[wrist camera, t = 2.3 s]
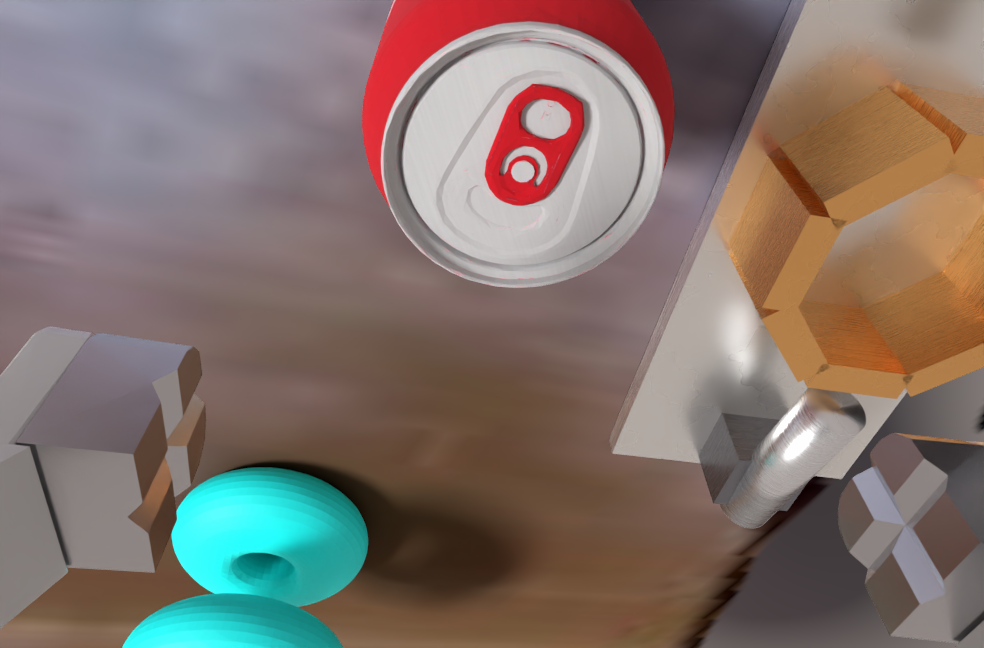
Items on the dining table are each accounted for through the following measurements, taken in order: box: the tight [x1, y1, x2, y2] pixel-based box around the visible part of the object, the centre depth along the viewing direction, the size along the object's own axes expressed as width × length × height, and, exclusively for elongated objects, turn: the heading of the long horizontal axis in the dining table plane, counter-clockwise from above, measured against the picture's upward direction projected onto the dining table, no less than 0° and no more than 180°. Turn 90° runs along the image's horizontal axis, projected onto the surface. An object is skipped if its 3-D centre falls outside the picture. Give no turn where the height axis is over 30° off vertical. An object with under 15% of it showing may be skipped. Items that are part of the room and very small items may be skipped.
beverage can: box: [362, 0, 675, 288], centre depth 18 cm, size 6×6×12 cm
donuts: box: [122, 467, 368, 648], centre depth 35 cm, size 10×10×10 cm
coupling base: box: [609, 0, 984, 528], centre depth 25 cm, size 28×12×6 cm, turn 170°
